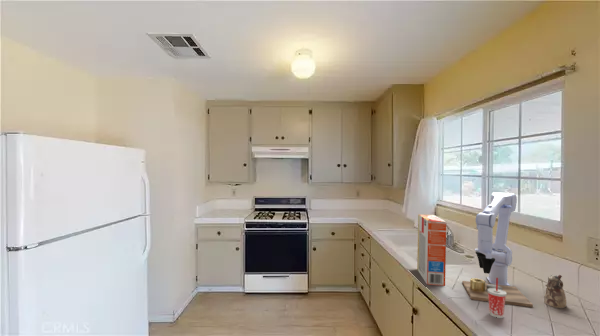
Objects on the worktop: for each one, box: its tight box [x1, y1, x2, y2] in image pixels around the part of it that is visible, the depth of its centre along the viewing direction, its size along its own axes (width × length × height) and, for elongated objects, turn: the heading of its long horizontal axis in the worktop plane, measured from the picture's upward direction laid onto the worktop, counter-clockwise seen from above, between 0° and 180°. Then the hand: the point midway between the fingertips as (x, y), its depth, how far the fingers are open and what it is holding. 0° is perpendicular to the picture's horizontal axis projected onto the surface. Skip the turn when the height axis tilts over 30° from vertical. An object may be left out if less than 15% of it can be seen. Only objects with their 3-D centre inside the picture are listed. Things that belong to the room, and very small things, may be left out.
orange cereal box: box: [416, 213, 447, 287], centre depth 159 cm, size 23×8×30 cm, turn 170°
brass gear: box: [469, 277, 486, 292], centre depth 140 cm, size 6×6×4 cm
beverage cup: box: [487, 278, 506, 319], centre depth 117 cm, size 6×6×14 cm
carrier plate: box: [461, 280, 534, 308], centre depth 138 cm, size 20×22×5 cm
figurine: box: [543, 274, 567, 309], centre depth 128 cm, size 7×7×12 cm
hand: (484, 270), depth 140 cm, fingers open, 7 cm apart
